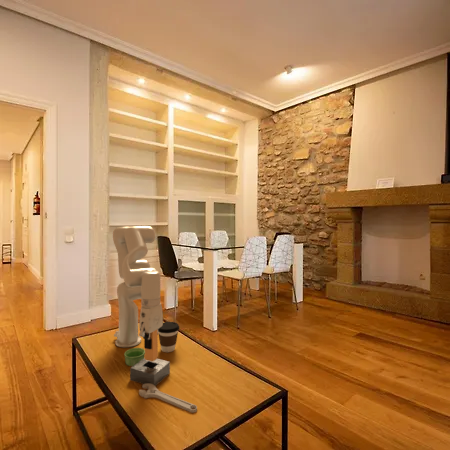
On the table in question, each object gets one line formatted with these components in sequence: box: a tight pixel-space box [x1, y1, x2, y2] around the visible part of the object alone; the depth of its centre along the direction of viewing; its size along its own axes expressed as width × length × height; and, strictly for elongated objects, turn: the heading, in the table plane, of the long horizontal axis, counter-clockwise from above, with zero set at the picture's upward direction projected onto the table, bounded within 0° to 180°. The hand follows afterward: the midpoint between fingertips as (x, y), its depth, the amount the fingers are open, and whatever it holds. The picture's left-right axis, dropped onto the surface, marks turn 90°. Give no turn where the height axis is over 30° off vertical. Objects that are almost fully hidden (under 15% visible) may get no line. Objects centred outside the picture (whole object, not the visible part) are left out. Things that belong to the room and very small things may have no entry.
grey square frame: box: [129, 357, 171, 387], centre depth 117 cm, size 12×11×5 cm
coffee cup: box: [158, 321, 180, 353], centre depth 141 cm, size 11×11×12 cm
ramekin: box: [123, 347, 145, 367], centre depth 129 cm, size 9×9×4 cm
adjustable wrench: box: [138, 383, 198, 414], centre depth 102 cm, size 25×6×2 cm, turn 58°
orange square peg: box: [144, 330, 159, 361], centre depth 117 cm, size 3×4×12 cm
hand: (150, 346), depth 117 cm, fingers closed on orange square peg, 3 cm apart
